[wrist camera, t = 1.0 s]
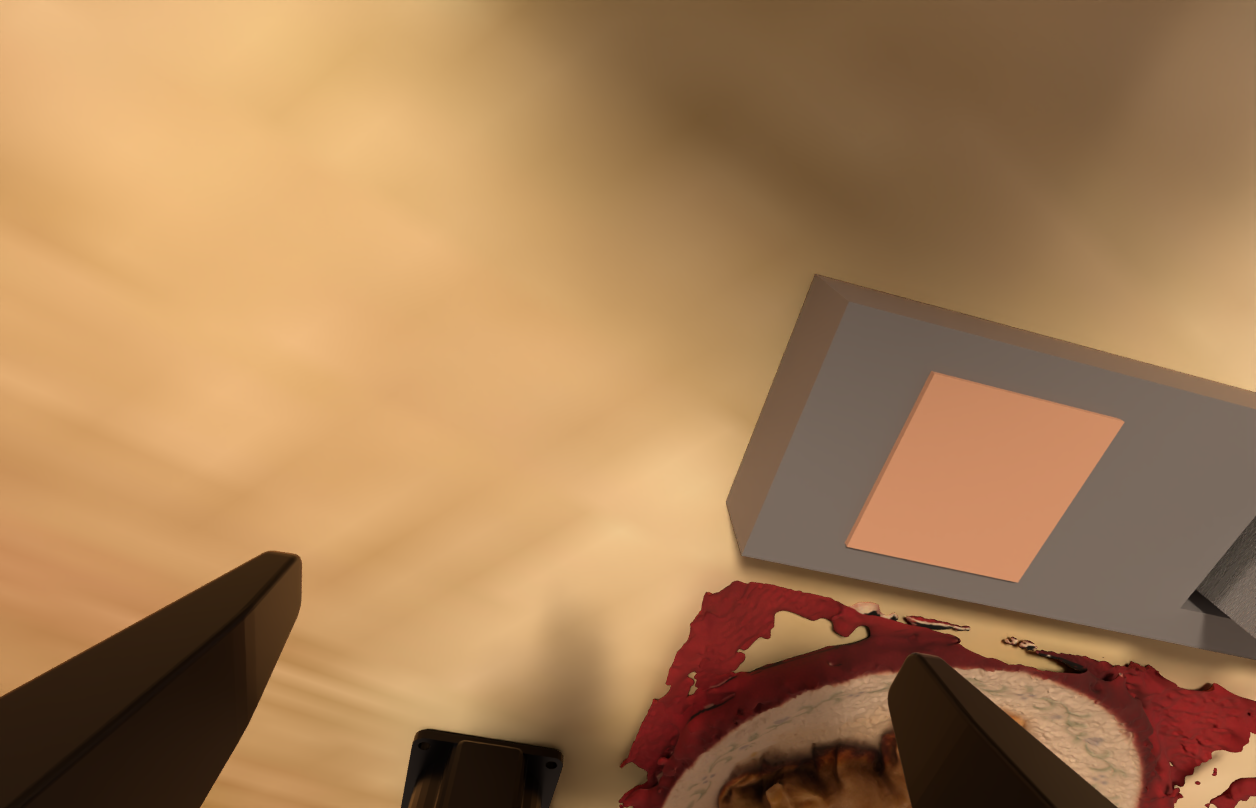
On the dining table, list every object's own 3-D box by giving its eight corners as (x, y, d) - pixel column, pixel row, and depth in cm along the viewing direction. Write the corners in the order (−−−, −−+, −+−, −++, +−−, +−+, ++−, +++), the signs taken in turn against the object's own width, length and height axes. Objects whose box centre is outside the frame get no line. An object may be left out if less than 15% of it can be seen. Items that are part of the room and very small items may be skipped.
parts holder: (1282, 620, 26) (1366, 685, 23) (725, 501, 23) (742, 559, 20) (1444, 443, 22) (1569, 493, 19) (815, 274, 19) (851, 303, 16)
